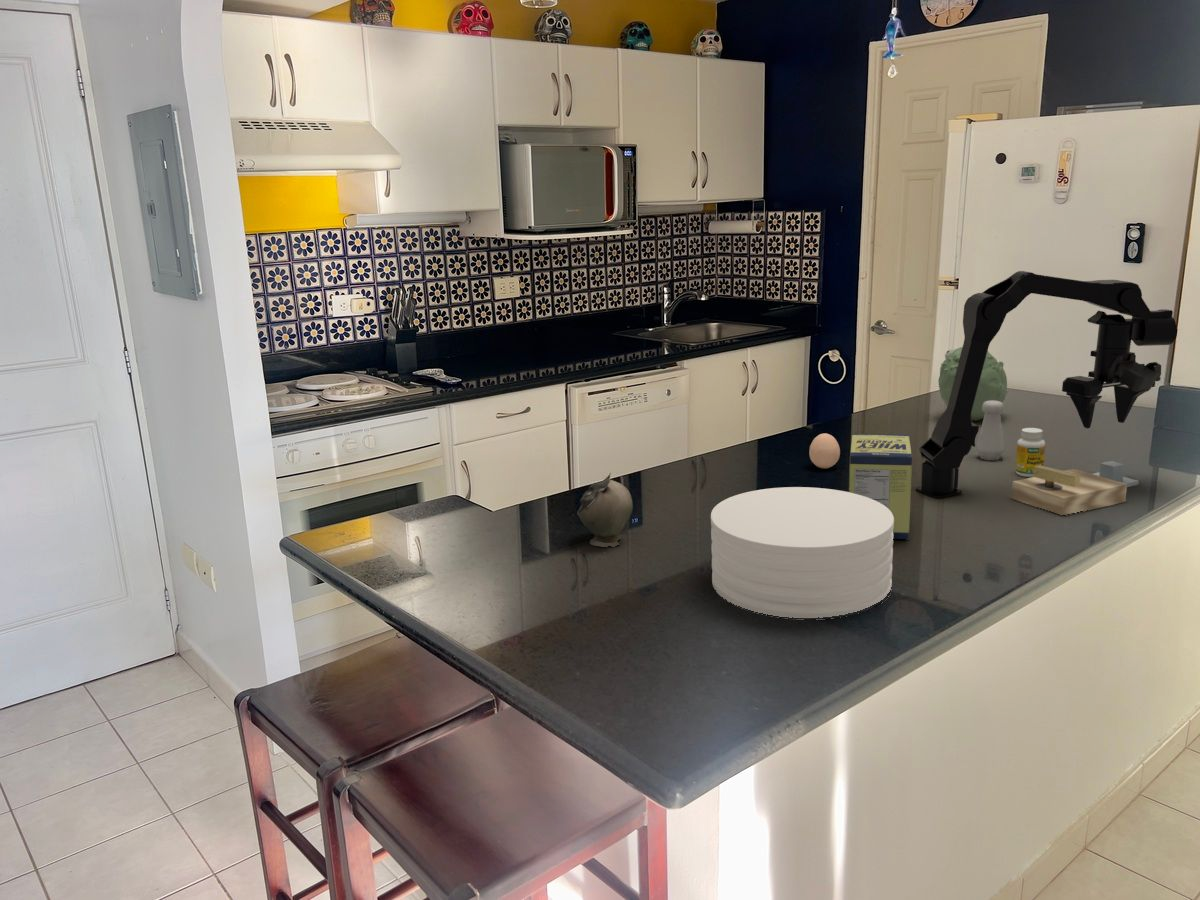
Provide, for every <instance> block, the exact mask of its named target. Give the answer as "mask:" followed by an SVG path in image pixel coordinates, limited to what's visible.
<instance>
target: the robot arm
mask: <svg viewBox="0 0 1200 900" xmlns="http://www.w3.org/2000/svg"><path fill="white" fill-rule="evenodd" d="M1031 294H1034V295H1042V296H1048V297H1054V298H1055V297H1056V298H1062V299H1069V300H1076V301H1083V302H1084V303H1085V302H1086V303H1088V304H1090V305H1093V306H1096V307H1098V308H1102V309H1105V310H1109V311H1113V312H1116V313H1117V314H1115V313H1113V314H1111V313H1110V314H1107V313H1106V312H1105V311H1102V310H1097V312H1095V313H1094V314H1093V315H1092V316H1090V317H1089V318H1087V322H1088V323H1090V324H1093V325H1098V331H1097V339H1096V340H1097V341H1096V346H1095V347H1096V348H1095V350H1090V357H1094V367H1093V370H1091V371H1088V375H1087V376H1082V375H1076V376H1069V377H1066V378H1065V379H1064V380H1063V381H1062V385H1061V392H1064V393H1066V394H1065V395H1066V396H1068V397H1070V399H1071V401H1072V403H1073V405H1074V407H1075V409H1076V411H1077V414H1078V416H1079V418H1080V421H1081V423H1082V425H1083V427H1084V428H1085V429H1090V428H1091V426H1092V423H1093V418H1094V413H1095V408H1096V407H1095V406H1096V403H1097V402H1098V401H1099V400H1101V399H1102V397H1103V395H1100V394H1101V393H1102V392H1103V389H1105V388H1111V387H1113V390H1114V392H1113V394H1114V399H1115V400H1114V401H1115V409H1116V410H1115V411H1116V412H1115V413H1116V418H1117V421H1118V423H1122V424H1123V423H1125V421H1126V419H1127V418H1128V415H1129V413H1130V411H1131V410H1132V407H1133V406H1134V404H1135V402H1136V401H1137V399H1139V397H1140V396H1141V395H1143V394H1145V393H1147V392H1149V391H1150V390H1151V389H1152V388H1155V387H1156V382H1159V381H1161V375H1162V364H1160V363H1158V362H1157V361H1154V362H1153V361H1152V362H1148V363H1146V364H1145V363H1138V362H1136V361H1137V360H1136V356H1137V355H1136V353H1135V352H1132V351H1131V345H1132V344H1131V343H1134V344H1135V346H1136V347H1145V346H1149V347H1150V346H1170V345H1172V344H1173V343H1175V340H1176V339H1177V335H1178V328H1177V322H1176V320H1175V318H1174V317H1173V313H1174V312H1173V310H1172V309H1157V310H1150V308H1149V307H1148V305H1147V303H1146V302H1145V301H1144V298H1143V294H1142V290H1141V288H1140V285H1139V284H1138V283H1134V282H1132V281H1125V280H1118V279H1097V280H1076V279H1072V278H1071V279H1070V278H1064V277H1057V276H1050V275H1044V274H1037V273H1034V272H1030V271H1025V270H1024V271H1023V270H1019V271H1016V272H1014V273H1013V274H1011V275H1010V276H1009V277H1007V278H1006V279H1004V280H1002V281H1000V282H997V283H996V284H994V285H992V286H990V287H988V288H987V289H985V290H984V291H982V292H977V293H974V294H972V295H971V296H970V297H968V298H967V299H966V301H965V303H964V306H963V316H962V327H963V334H964V335H963V336H964V340H963V343H962V346H961V347H962V351H961V355H960V359H959V363H958V367H957V371H956V375H955V379H954V383H953V387H952V391H951V395H950V399H949V403H948V406H946V409H945V410H944V412H942V415H941V416H940V417H939V418H938V419H937V422H936V424H935V426H934V428H933V431H932V432H931V437H929V438H928V440H926V441H925V442H924V443H923V444H922V445H921V446H920V447H919V449H918V451H919V453H920V456H921V458H922V459H924V460H925V461H924V462H922V464H921V482H920V483H921V486H918V487H915V491H917V492H920V493H922V494H924V495H927V496H930V497H933V498H935V499H941V498H945V497H950V496H956V495H960V494H963V491H962V490H961V489H959V488H958V487H959V468H960V467H961V465H962V462H963V459H964V457H965V456H968V454H969V453H970V452H971V449H972V447H973V448H974V447H976V437H977V435H978V433H979V429H980V425H978V424H976V423H974V422H973V421H972V420H971V412H972V408H973V405H974V401H975V397H976V393H977V389H978V385H979V382H980V378H981V374H982V370H983V366H984V363H985V359H986V355H987V351H988V352H989V348H990V344H991V342H992V341H993V340H994V338H995V337H996V336H997V334H998V333H999V332H1000V330H1001V328H1002V326H1003V323H1004V322H1005V319H1006V316H1007V314H1008V313H1010V312H1012V311H1013V310H1015V309H1016V308H1017V307H1018V306H1019V305H1020V304H1021V303H1022V302H1023V301H1024V300H1025V299H1026V297H1029V296H1030V295H1031ZM1124 315H1126V316H1129V317H1130V316H1131V318H1125V317H1124Z"/></svg>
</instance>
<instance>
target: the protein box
mask: <svg viewBox="0 0 1200 900" xmlns="http://www.w3.org/2000/svg"><path fill="white" fill-rule="evenodd" d="M912 467H913V455H912V449H911V442H910V435H909V434H892V433H891V434H890V433H889V434H885V433H881V434H879V433H852V434H851V445H850V457H849V492H850V493H854V494H858V495H861V496H865V497H868V498H870V499H873V500H875V501H877V502H879V503H881V504H883V505H884V506H886V507H887V508H888V509H889V510H890V511H891V512H892V514H893V517H894V528H893V539H909V540H910V523H911V522H910V521H911V520H910V519H911V496H912V495H911V494H912V493H911V491H912V471H913V469H912Z"/></svg>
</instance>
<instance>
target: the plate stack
mask: <svg viewBox="0 0 1200 900" xmlns="http://www.w3.org/2000/svg"><path fill="white" fill-rule="evenodd" d="M710 525H711V529H710V536H711V537H710V538H711V546H710V547H711V556H712V557H711V570H712V573H711V582H712V583H711V584H712V587H713V588H714V590H716V591H715V592H716V593H717V594H718V596H720V597H721V598H722V597H723V598H722V599H723V600H725V599H726V600H727V601H726V600H725V601H726V602H728V603H730V602H731V603H732V605H733V604H734V606H736V605H737V606H736V607H738V606H740V607H742V608H741V609H743V608H745V609H748V610H751V611H754V612H753V613H755V612H758V613H757V614H759V613H763V614H766V615H765V616H767V614H768V615H773V616H779V617H789V618H792V617H793V618H818V617H819V618H823V617H832V616H839V615H845V614H848V613H853V612H857V611H860V610H863V609H865V608H868V607H870V606H872V605H874V604H876V603H878V602H880V601H881V600H883V599H884V598H885V597H886V596H887V594H888V593H889V592H890V590H891V591H892V589H891V587H893V586H892V585H893V582H892V581H893V579H892V576H893V557H894V548H893V545H894V540H893V528H894V517H893V514H892V512H891V511H890V510H889V509H888V508H887V507H886V506H884V505H883V504H881V503H879V502H877V501H875V500H873V499H870V498H868V497H865V496H861V495H858V494H854V493H850V491H845V490H838V489H831V488H824V487H823V488H821V487H811V486H810V487H809V486H807V487H806V486H805V487H803V486H790V487H789V486H787V487H784V486H783V487H772V488H771V487H770V488H764V489H758V490H757V489H756V490H750V491H747V492H742V493H739V494H735V495H733V496H730V497H728V498H725V499H724V500H722V501H721V502H718V504H715V506H714V507H713V509H712V510H711V513H710ZM731 603H730V604H731ZM740 607H739V608H740ZM745 609H744V610H745ZM748 610H747V611H748ZM751 611H750V612H751ZM763 614H762V615H763ZM773 616H772V617H773ZM779 617H778V618H779Z"/></svg>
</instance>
